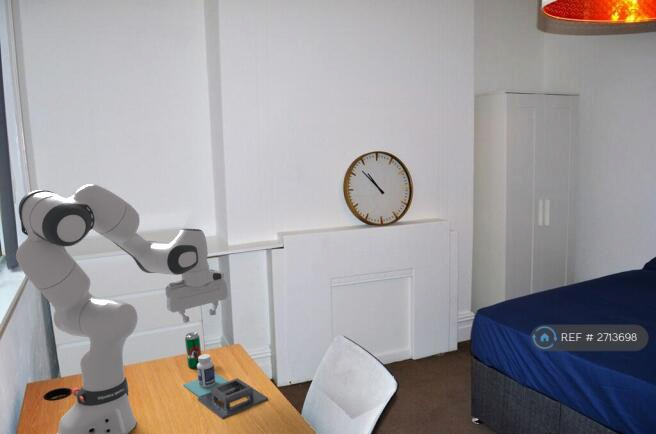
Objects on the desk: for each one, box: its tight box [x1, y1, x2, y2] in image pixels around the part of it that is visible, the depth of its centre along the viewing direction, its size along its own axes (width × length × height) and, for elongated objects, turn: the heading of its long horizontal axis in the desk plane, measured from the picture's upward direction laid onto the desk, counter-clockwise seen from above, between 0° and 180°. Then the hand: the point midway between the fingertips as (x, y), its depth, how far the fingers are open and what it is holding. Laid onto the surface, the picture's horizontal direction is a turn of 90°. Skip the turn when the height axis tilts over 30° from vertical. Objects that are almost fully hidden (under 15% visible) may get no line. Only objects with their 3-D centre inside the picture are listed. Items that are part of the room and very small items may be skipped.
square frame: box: [197, 378, 269, 420], centre depth 168 cm, size 16×16×4 cm
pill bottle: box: [196, 353, 215, 387], centre depth 179 cm, size 5×5×10 cm
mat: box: [182, 372, 230, 398], centre depth 179 cm, size 12×12×1 cm
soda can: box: [184, 331, 202, 369], centre depth 195 cm, size 5×5×12 cm
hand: (199, 318), depth 176 cm, fingers open, 8 cm apart
